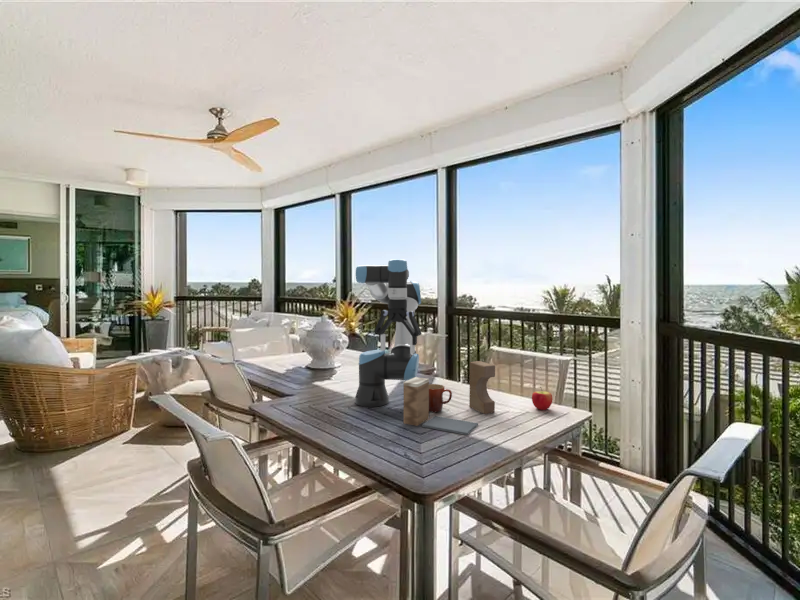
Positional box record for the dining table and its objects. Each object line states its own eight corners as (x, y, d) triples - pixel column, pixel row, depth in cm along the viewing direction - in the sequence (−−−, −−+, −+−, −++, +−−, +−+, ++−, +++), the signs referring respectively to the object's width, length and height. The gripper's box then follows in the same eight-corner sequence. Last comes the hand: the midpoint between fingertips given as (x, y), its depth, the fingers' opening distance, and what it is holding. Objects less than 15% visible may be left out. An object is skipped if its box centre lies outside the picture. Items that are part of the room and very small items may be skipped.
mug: (421, 412, 186) (421, 388, 185) (426, 406, 194) (426, 383, 193) (449, 415, 182) (449, 390, 181) (453, 409, 190) (454, 385, 189)
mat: (422, 426, 168) (422, 424, 168) (435, 417, 178) (435, 415, 178) (467, 435, 159) (467, 432, 159) (478, 425, 170) (478, 423, 170)
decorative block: (495, 412, 185) (495, 365, 184) (483, 414, 183) (484, 366, 181) (479, 405, 195) (480, 360, 194) (468, 407, 193) (469, 361, 191)
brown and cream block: (403, 423, 172) (403, 382, 171) (415, 416, 181) (415, 377, 180) (417, 425, 169) (417, 384, 168) (428, 418, 178) (429, 378, 177)
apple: (528, 409, 190) (528, 386, 189) (537, 405, 196) (537, 382, 196) (546, 413, 184) (547, 389, 184) (555, 408, 191) (555, 385, 190)
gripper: (366, 298, 179) (366, 350, 180) (421, 300, 167) (421, 355, 169) (375, 297, 186) (375, 347, 187) (429, 299, 174) (429, 352, 175)
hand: (397, 351), depth 178 cm, fingers open, 13 cm apart
